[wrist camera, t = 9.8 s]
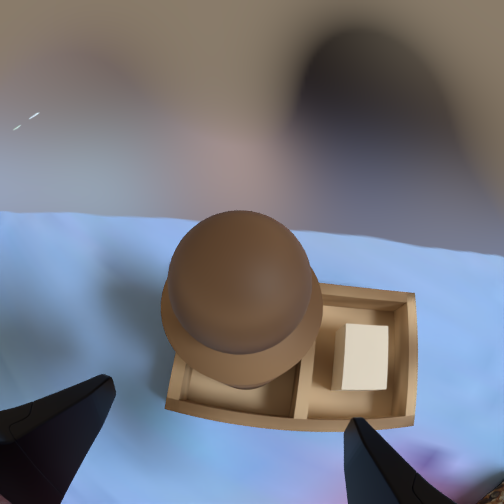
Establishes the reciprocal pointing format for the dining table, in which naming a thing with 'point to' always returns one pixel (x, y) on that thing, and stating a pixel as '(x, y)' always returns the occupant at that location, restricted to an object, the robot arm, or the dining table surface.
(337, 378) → the block
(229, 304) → the pepper mill
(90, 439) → the robot arm
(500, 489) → the bread
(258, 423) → the caddy
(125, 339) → the dining table surface
